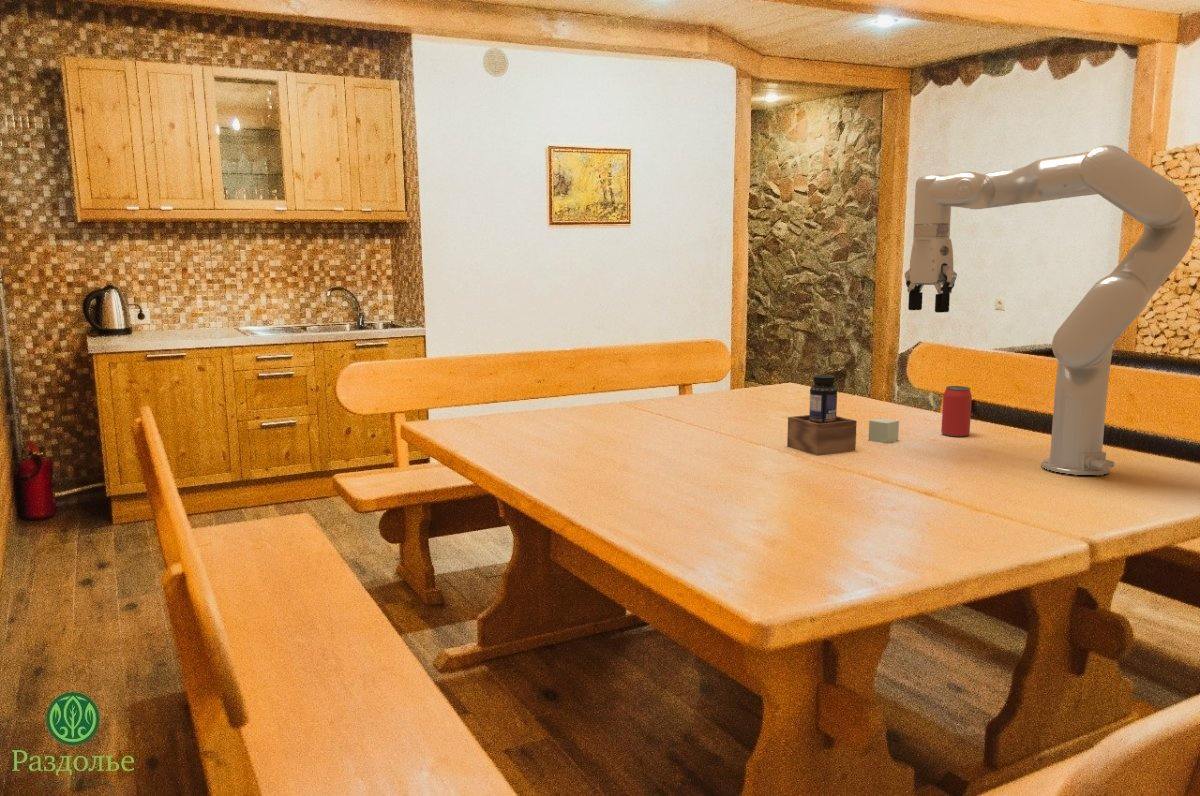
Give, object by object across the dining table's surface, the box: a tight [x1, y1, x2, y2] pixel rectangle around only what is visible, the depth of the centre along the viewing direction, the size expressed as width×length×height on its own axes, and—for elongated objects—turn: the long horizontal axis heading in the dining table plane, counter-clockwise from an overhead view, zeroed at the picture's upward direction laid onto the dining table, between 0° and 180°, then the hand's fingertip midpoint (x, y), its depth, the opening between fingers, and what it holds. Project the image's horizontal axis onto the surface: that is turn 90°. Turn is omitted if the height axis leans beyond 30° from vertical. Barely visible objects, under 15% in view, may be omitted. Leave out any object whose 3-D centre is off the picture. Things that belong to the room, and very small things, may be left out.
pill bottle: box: [808, 374, 838, 424], centre depth 207 cm, size 6×6×11 cm
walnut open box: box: [786, 414, 858, 456], centre depth 208 cm, size 11×11×7 cm
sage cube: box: [867, 417, 900, 444], centre depth 217 cm, size 5×5×5 cm
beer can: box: [940, 385, 973, 438], centre depth 223 cm, size 7×7×12 cm
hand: (928, 311), depth 199 cm, fingers open, 9 cm apart
